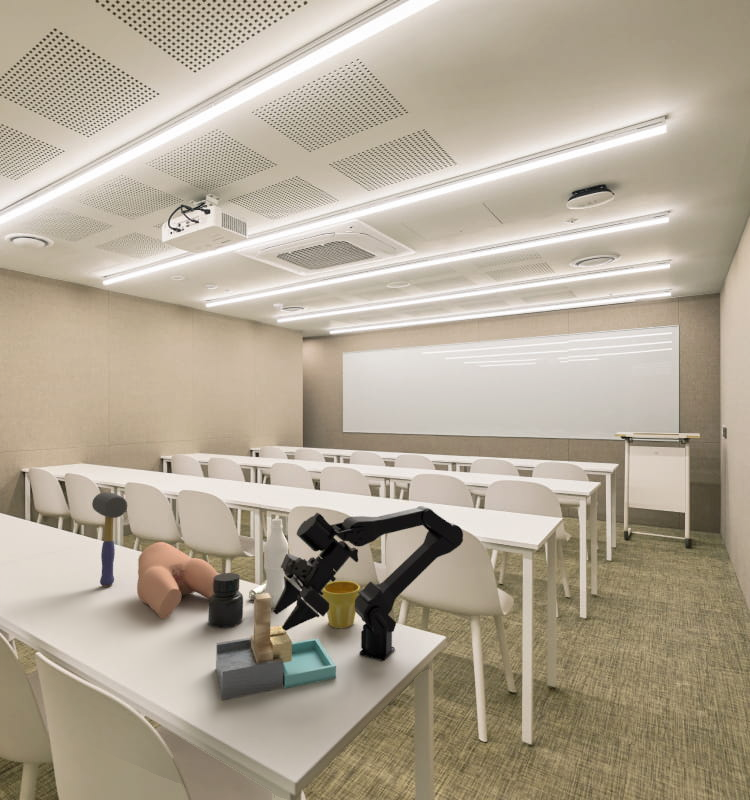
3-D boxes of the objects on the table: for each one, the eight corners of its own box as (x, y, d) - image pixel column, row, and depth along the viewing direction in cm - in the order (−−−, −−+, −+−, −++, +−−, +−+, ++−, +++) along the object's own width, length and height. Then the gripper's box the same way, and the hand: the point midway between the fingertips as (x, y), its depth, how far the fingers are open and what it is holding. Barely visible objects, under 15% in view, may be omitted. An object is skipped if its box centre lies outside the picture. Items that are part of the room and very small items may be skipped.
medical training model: (153, 634, 132) (161, 592, 130) (117, 586, 147) (124, 547, 145) (221, 611, 148) (229, 573, 146) (181, 570, 163) (188, 535, 161)
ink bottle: (250, 617, 134) (250, 573, 135) (232, 630, 126) (233, 584, 126) (219, 613, 137) (220, 570, 137) (200, 625, 128) (201, 580, 129)
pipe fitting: (249, 604, 145) (272, 601, 146) (248, 591, 145) (271, 588, 147) (250, 595, 153) (271, 591, 154) (249, 582, 153) (271, 579, 154)
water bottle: (289, 600, 147) (291, 517, 148) (285, 609, 140) (286, 522, 141) (266, 599, 147) (267, 516, 148) (260, 609, 140) (262, 522, 141)
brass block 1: (282, 642, 111) (282, 625, 111) (286, 650, 107) (286, 632, 107) (264, 645, 109) (264, 627, 109) (267, 653, 106) (268, 635, 106)
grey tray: (270, 658, 112) (271, 634, 112) (282, 687, 100) (283, 660, 100) (215, 668, 107) (216, 643, 107) (222, 700, 95) (222, 671, 95)
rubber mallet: (126, 587, 156) (129, 494, 157) (101, 594, 150) (104, 496, 151) (112, 578, 164) (114, 489, 165) (87, 584, 158) (90, 492, 159)
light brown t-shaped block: (264, 644, 109) (265, 588, 110) (272, 663, 101) (274, 602, 101) (250, 646, 108) (252, 589, 109) (258, 666, 100) (259, 604, 100)
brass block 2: (287, 652, 106) (287, 634, 106) (291, 661, 102) (291, 642, 103) (268, 656, 105) (269, 637, 105) (272, 664, 101) (272, 645, 101)
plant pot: (313, 622, 131) (314, 586, 132) (342, 612, 139) (343, 577, 139) (338, 635, 124) (339, 596, 124) (367, 623, 131) (368, 587, 131)
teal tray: (317, 648, 116) (317, 638, 117) (335, 677, 104) (336, 666, 104) (271, 657, 112) (271, 646, 112) (284, 688, 99) (285, 676, 99)
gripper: (293, 532, 117) (246, 584, 113) (315, 552, 100) (260, 614, 95) (324, 561, 120) (279, 613, 115) (350, 585, 103) (299, 647, 98)
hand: (278, 620), depth 106 cm, fingers open, 9 cm apart
